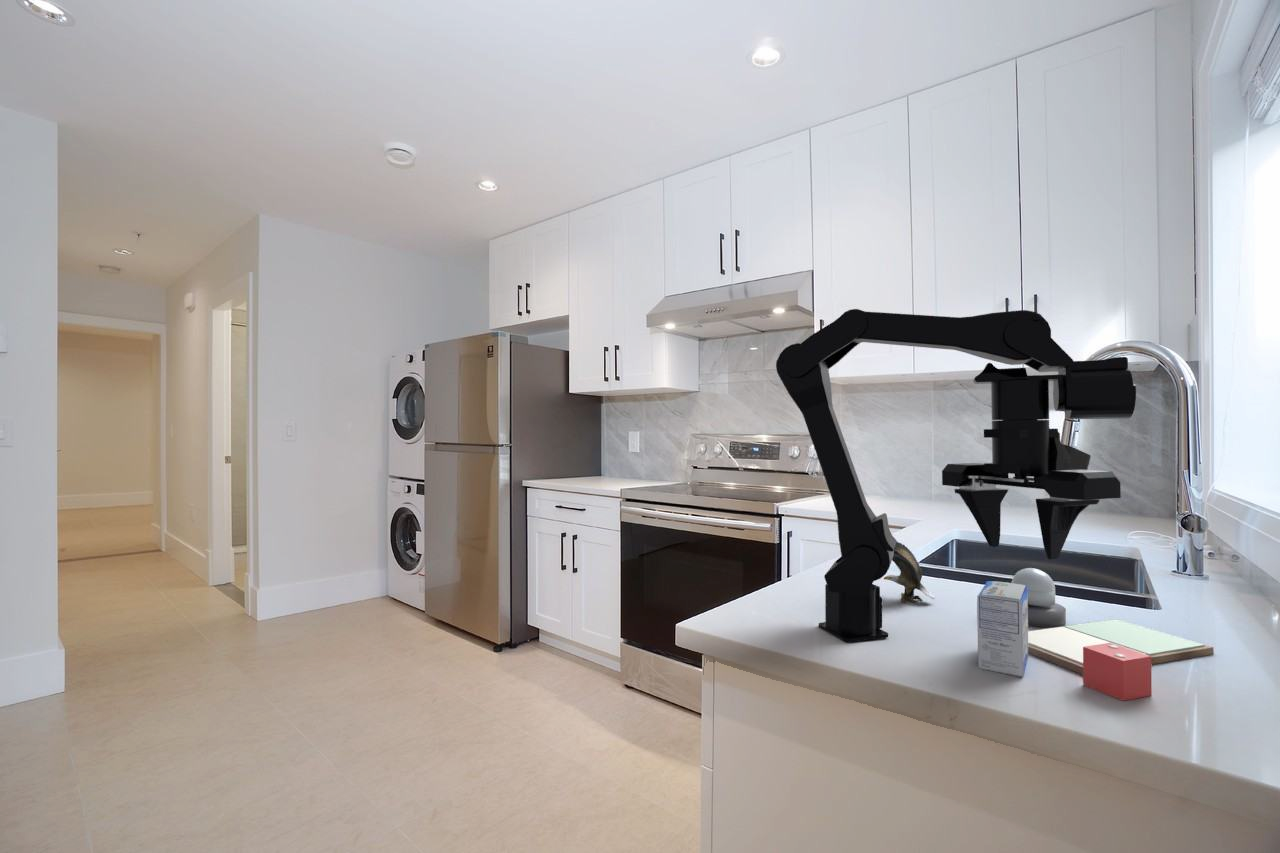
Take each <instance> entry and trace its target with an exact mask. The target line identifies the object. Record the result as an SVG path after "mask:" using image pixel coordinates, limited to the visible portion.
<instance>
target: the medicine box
mask: <svg viewBox="0 0 1280 853" xmlns="http://www.w3.org/2000/svg"><path fill="white" fill-rule="evenodd" d="M976 616H977V617H976V619H977V620H976V621H977V622H976V623H977V658H978V659H977V662H978V668H979V669H981V670H986V671H990V672H996V673H999V674H1004V675H1008V676H1009V675H1010V676H1015V677H1018V678H1023V677H1024V676H1025V671H1026V666H1027V662H1028V657H1029V653H1028V631H1029V625H1028V593H1027V586H1025V585H1021V584H1014V583H1012V582H1007V581H1006V582H1004V581H997V580H996V581H995V580H994V581H993V580H992V581H990V580H989V581H986V582H985V584H984V585H983V587H982V588H981V591H980V592H979V593H978V594H977V599H976Z"/></svg>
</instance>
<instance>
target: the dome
mask: <svg viewBox="0 0 1280 853" xmlns="http://www.w3.org/2000/svg"><path fill="white" fill-rule="evenodd" d="M1011 583H1014V584H1021V585H1025V586H1027V593H1028V604H1029V605H1035V606H1052V605H1055V603H1056V586H1055V583H1054V580H1053V579H1052V578H1051V576H1050V575H1049V574H1048V573H1047V572H1045V571H1043V570H1041V569H1038V568H1033V567H1028V568H1027V567H1025V568H1022V569H1019V570H1018V571H1017V572H1015V575H1014V576H1013V577H1012V580H1011Z"/></svg>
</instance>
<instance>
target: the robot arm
mask: <svg viewBox="0 0 1280 853" xmlns="http://www.w3.org/2000/svg"><path fill="white" fill-rule="evenodd" d="M861 343H869V344H870V343H871V344H881V345H882V344H883V345H894V346H904V347H915V348H927V349H939V350H940V349H941V350H952V351H957V352H961V353H965V354H969V355H971V356H975V357H978V358H980V359H981V358H982V359H985V360H989V361H993V362H997V363H1001V364H1004V365H1010V366H1017V365H1025V366H1027V367H1029V368H1031V369H1033V370H1034V371H1037V372H1039V373H1055V372H1056V373H1057V374H1043V375H1041V374H1039V375H1034V374H1033V375H1028V372H1027V368H1026V367H1009V368H998V367H996V366H995V365H993V363H992V362H988V363H986V365H985V367H984V368H983V370H982V371H981V372H980V373H979V374H978V375H976V376H975V377H974V378H973V380H972V381H973V384H975V385H983V384H985V385H986V384H990V385H991V386H990V388H991V389H990V390H991V391H990V392H991V396H990V397H991V398H990V399H991V428H990V429H989V428H987V429H985V428H984V429H983V438H986V439H987V438H991V442H992V443H991V454H992V455H991V458H992V462H989V463H988V462H985V463H982V462H981V463H980V462H979V463H978V462H970V463H965V462H964V463H947V464H946V465H945V467H944V468H943V470H941V484H942V486H946V487H947V486H948V487H949V486H950V487H956V488H954V493H955V494H958V495H959V496H960V497H961V499H962V501H963V502H964V503H965V505H966V507H967V508H968V510H969V512H970V513H971V514H972V516H973V518H974V520H975V521H976V523H977V525H978V527H979V529H980V531H981V533H982V534H983V537H984V538H985V540H986V542H987V544H988V546H989V547H991V548H998V547H999V546H1000V540H1001V519H1002V518H1001V517H1002V516H1001V514H1002V513H1001V512H1002V511H1001V510H1002V509H1001V507H1002V506H1001V505H1002V502H1003V501H1004V498H1005V496H1006V495H1007V493H1008V492H1009V488H999V487H997V485H998V486H1009V487H1017V488H1028V489H1039V490H1044V491H1045V492H1046V493H1047V495H1049V497H1046V498H1035V504H1036V510H1037V515H1038V521H1039V526H1040V527H1039V528H1040V532H1041V538H1042V545H1043V549H1044V552H1045V556H1046V558H1047V560H1050V561H1054V560H1058V559H1059V557H1060V554H1061V552H1062V549H1063V547H1064V545H1065V543H1066V541H1067V538H1068V536H1069V534H1070V531H1071V529H1072V527H1073V524H1075V521H1076V520H1077V519H1078V518H1077V517H1078V516H1079V515H1080V513H1082V512H1083V511H1084V510H1085V509H1086V508H1088V507H1089V506H1092V505H1099V503H1100V501H1101V500H1106V499H1107V500H1108V499H1120V498H1122V497H1121V496H1122V495H1121V481H1120V479H1118V477H1117V476H1116V474H1115V473H1114V472H1113V471H1112V470H1110V471H1109V470H1095V469H1093V470H1092V469H1088V468H1089V465H1090V462H1091V457H1092V455H1091V454H1089V453H1087V452H1085V451H1082V450H1081V449H1077V448H1076V447H1073V446H1072V445H1068V444H1064V443H1062V442H1061V434H1060V431H1059V428H1050V396H1049V395H1050V392H1049V391H1050V390H1049V389H1050V388H1049V385H1050V384H1049V382H1053V383H1052V384H1053V389H1052V400H1053V407H1054V411H1056V412H1064V416H1065V418H1066V419H1067V420H1108V419H1109V420H1110V419H1116V420H1117V419H1119V420H1121V419H1131V418H1132V416H1133V414H1134V412H1135V408H1136V401H1137V400H1136V399H1137V386H1136V384H1134V381H1133V376H1132V371H1131V370H1130V368H1129V359H1128V357H1126V356H1117V357H1116V356H1115V357H1110V358H1105V359H1093V360H1091V359H1090V360H1075V361H1074V360H1073V358H1072V357H1071V356H1070V355H1069V354H1068V353H1067V352H1066V351H1065V350H1064V349H1063V348H1062V347H1061V346H1060V345H1059V344H1058V343H1057V342H1056V341H1055V340H1054V339H1053V338H1052V329H1051V327H1050V325H1049V322H1048V321H1047V319H1045V318H1044V317H1043V315H1041V314H1040V313H1039V312H1036V311H1033V310H1027V309H1022V310H1021V309H1020V310H1010V311H999V312H989V313H985V314H979V315H972V316H962V317H961V316H960V317H958V316H957V317H956V316H943V315H942V316H941V315H940V316H939V315H928V314H925V315H924V314H913V313H912V314H910V313H897V312H896V313H895V312H894V313H893V312H879V311H878V312H877V311H865V310H861V309H859V308H853V309H852V308H851V309H847V310H846V311H845V312H843V313H842V314H841V315H840V316H839V317H837V318H836V319H835V320H834V321H832V322H831V323H829V324H827V325H826V326H824V327H823V328H821V329H819V330H817V331H816V332H814V333H813V334H811V335H810V336H808V337H807V338H806V339H805V340H803V341H802V342H801V343H798V342H796V343H793V344H790V345H788V346H786V347H785V348H784V349H783V350H782V351H781V352H780V353H779V355H778V357H777V360H776V363H775V369H776V374H777V375H778V377H779V379H780V381H781V383H782V384H783V386H784V388H785V390H786V392H787V393H788V395H789V396H790V398H791V399H792V401H793V403H795V405H796V406H797V408H798V409H799V411H800V412H801V414H802V417H803V419H804V422H805V425H806V428H807V431H808V433H809V436H810V439H811V442H812V445H813V448H814V450H815V454H816V457H817V460H818V463H819V465H820V468H821V470H822V471H821V472H822V474H823V477H824V479H825V480H824V481H825V483H826V485H827V488H828V491H829V494H830V497H831V500H832V502H833V505H834V508H835V512H836V516H837V520H836V521H837V531H838V533H837V534H838V542H839V548H840V555H841V556H840V557H839V558H838V559H837V560H835V561H834V563H832V565H831V566H830V567H829V569H828V571H826V573H825V575H824V580H825V582H826V584H825V585H824V586H825V587H824V589H825V590H824V591H825V594H824V595H825V601H824V602H825V605H824V606H825V608H824V609H825V614H824V615H825V617H824V618H825V622H823V621H822V622H819V623H818V628H819V629H822V630H823V631H826V632H828V634H831V635H833V636H835V637H837V638H839V639H840V640H841V641H844V642H845V643H853V642H861V641H869V640H877V639H885V638H889V633H888V632H887V631H885V630H882V628H883V598H882V596H881V588H880V586H879V585H876V584H874V582H875V581H878V580H881V579H882V578H884V577H885V575H886V574H887V573H888V571H889V569H890V567H891V564H892V562H893V561H892V559H893V554H894V547H895V545H896V542H898V541H897V539H896V538H895V537H894V536H893V534H892V533H891V531H890V526H889V520H888V515H887V513H886V512H885V513H882V514H880V515H877V516H876V514H875V512H874V511H873V510H872V508H871V507H870V506H869V504H868V502H867V500H866V496H865V494H864V492H863V488H862V486H861V483H860V480H859V477H858V474H857V470H856V469H855V466H854V464H853V459H852V457H851V454H850V452H849V449H848V446H847V443H846V441H845V438H844V434H843V433H842V432H843V431H842V429H841V426H840V424H839V420H838V418H837V416H836V412H835V409H834V406H833V398H832V383H831V378H830V372H829V371H830V369H831V368H832V367H834V366H835V365H836V364H838V363H839V362H840V361H841V360H843V359H844V358H845V357H846V356H847V355H848V354H849V353H850V352H852V350H853V349H854V348H856V347H858V345H860V344H861ZM1009 474H1011V475H1012V474H1013V475H1014V476H1012V477H1009ZM957 487H958V488H957Z"/></svg>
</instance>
